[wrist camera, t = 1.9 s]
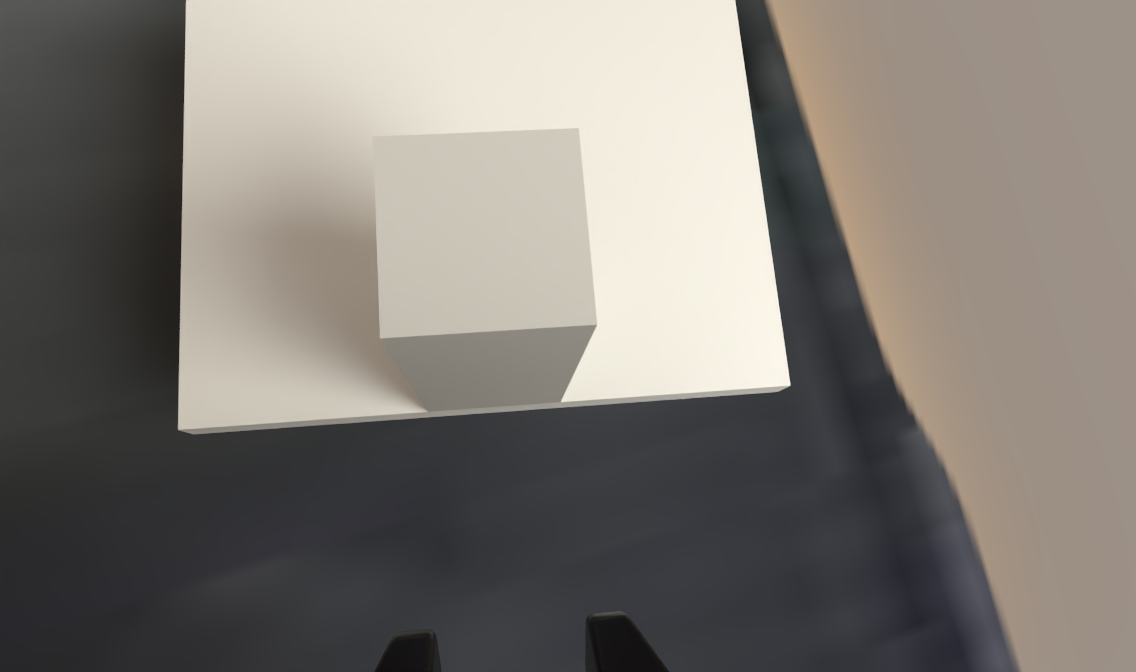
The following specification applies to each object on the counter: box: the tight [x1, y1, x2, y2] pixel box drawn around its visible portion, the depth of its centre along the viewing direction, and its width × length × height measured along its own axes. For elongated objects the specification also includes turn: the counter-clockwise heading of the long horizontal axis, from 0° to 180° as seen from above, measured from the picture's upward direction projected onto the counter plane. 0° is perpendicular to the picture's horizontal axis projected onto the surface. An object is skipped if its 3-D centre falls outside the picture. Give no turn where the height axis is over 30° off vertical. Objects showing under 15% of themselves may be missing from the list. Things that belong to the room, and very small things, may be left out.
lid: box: [178, 0, 790, 434], centre depth 15 cm, size 10×12×7 cm
